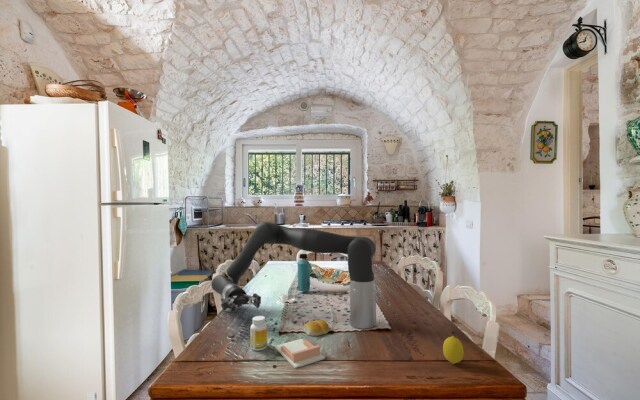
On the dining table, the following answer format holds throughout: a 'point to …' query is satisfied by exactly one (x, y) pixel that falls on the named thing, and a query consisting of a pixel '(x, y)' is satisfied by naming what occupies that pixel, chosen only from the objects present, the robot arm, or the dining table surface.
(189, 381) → the dining table surface
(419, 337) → the dining table surface
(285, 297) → the teacup and saucer
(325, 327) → the bread roll
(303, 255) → the beverage bottle
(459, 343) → the lemon
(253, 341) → the supplement bottle
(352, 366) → the dining table surface
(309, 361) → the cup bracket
